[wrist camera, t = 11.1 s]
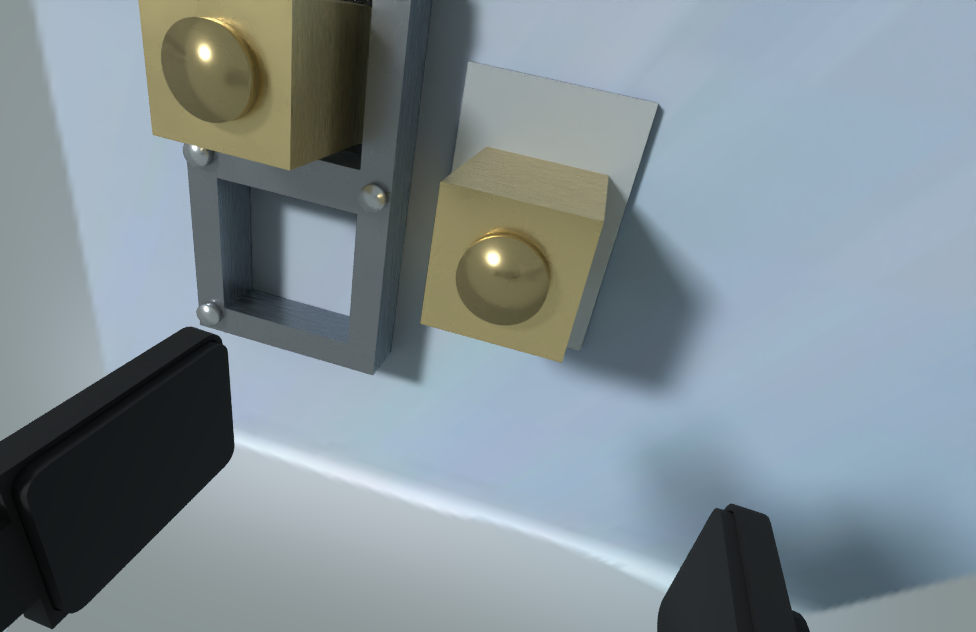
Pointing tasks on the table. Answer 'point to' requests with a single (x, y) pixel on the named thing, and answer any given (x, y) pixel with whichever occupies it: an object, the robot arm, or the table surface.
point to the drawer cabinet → (330, 182)
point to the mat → (559, 143)
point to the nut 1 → (258, 76)
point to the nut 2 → (513, 250)
